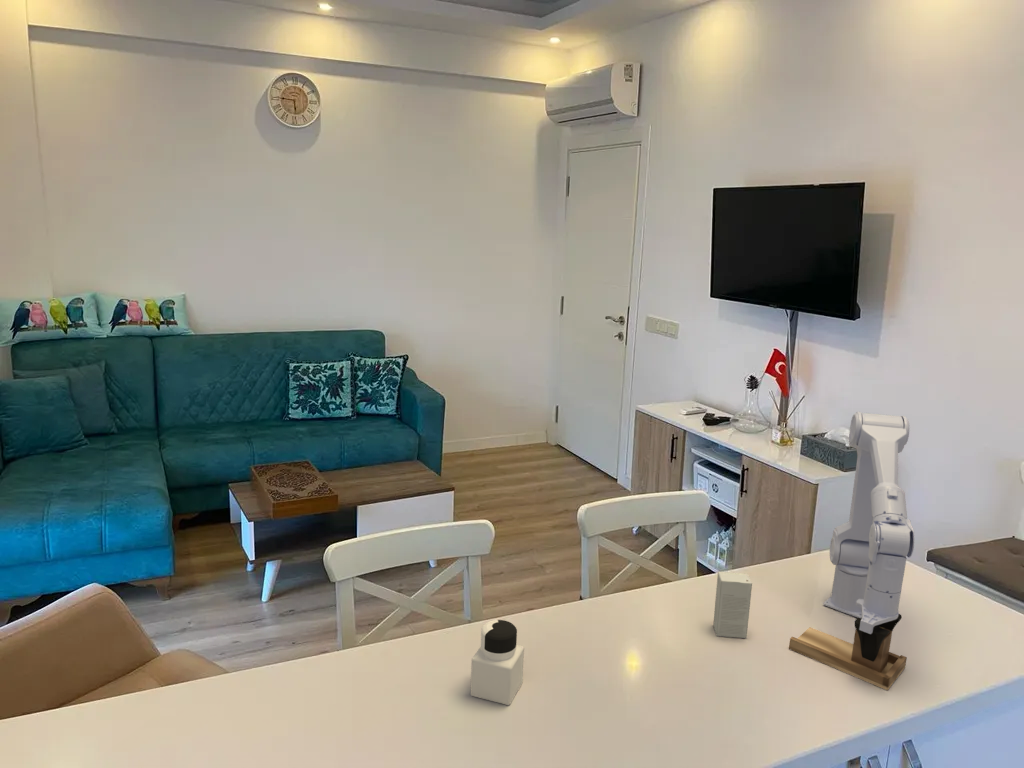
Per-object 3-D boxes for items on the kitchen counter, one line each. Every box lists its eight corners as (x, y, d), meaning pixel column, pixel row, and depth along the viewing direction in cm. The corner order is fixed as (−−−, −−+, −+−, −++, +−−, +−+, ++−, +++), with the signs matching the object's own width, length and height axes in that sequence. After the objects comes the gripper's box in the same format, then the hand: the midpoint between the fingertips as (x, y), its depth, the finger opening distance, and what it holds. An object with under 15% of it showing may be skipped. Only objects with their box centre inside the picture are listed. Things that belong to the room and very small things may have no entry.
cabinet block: (859, 654, 142) (864, 616, 140) (886, 665, 139) (892, 627, 137) (850, 663, 139) (856, 625, 137) (878, 675, 136) (884, 636, 134)
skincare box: (742, 627, 151) (748, 573, 148) (746, 639, 147) (753, 583, 144) (711, 625, 152) (717, 570, 149) (715, 636, 147) (721, 580, 145)
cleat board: (809, 629, 151) (810, 619, 151) (905, 667, 139) (906, 657, 139) (788, 648, 144) (790, 638, 144) (887, 690, 132) (889, 679, 132)
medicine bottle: (523, 682, 130) (525, 620, 128) (509, 706, 124) (512, 641, 121) (485, 673, 133) (487, 611, 130) (469, 696, 126) (471, 632, 123)
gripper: (874, 566, 143) (864, 630, 146) (846, 591, 132) (836, 659, 135) (914, 579, 138) (902, 645, 141) (888, 606, 128) (877, 676, 131)
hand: (873, 653), depth 138 cm, fingers closed on cabinet block, 4 cm apart
